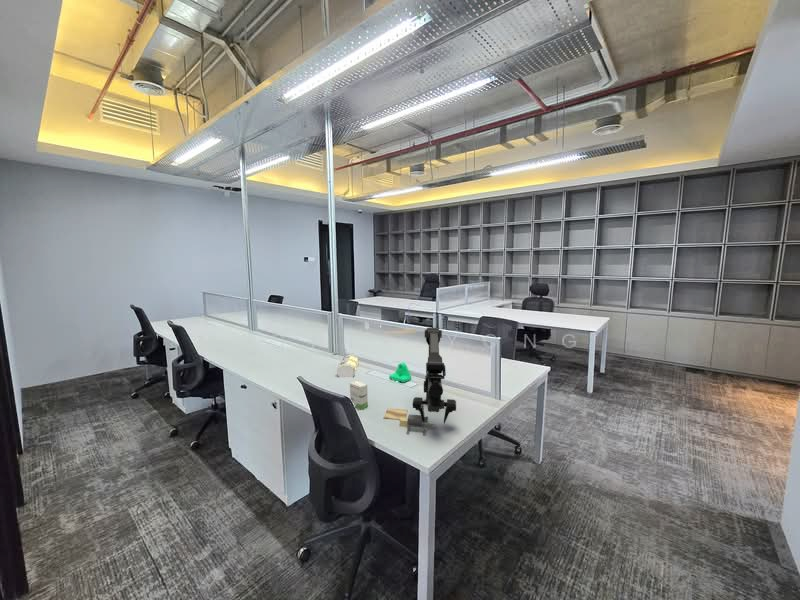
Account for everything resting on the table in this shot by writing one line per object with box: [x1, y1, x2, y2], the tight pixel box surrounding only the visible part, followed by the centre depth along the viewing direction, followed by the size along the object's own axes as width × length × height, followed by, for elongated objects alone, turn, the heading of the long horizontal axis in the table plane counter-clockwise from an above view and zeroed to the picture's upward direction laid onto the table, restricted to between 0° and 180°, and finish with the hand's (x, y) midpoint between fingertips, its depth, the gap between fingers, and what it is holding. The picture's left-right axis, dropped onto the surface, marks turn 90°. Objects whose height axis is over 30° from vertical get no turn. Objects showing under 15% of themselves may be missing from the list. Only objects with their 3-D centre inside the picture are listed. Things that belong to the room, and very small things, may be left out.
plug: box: [399, 413, 434, 429], centre depth 145 cm, size 4×14×4 cm, turn 81°
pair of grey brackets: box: [406, 415, 429, 436], centre depth 145 cm, size 16×8×2 cm, turn 171°
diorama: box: [337, 348, 359, 378], centre depth 217 cm, size 25×10×13 cm, turn 1°
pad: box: [383, 408, 408, 421], centre depth 156 cm, size 10×10×1 cm
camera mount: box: [388, 362, 412, 383], centre depth 201 cm, size 12×8×10 cm, turn 50°
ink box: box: [349, 380, 369, 411], centre depth 164 cm, size 9×5×12 cm, turn 47°
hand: (434, 422), depth 144 cm, fingers open, 9 cm apart
